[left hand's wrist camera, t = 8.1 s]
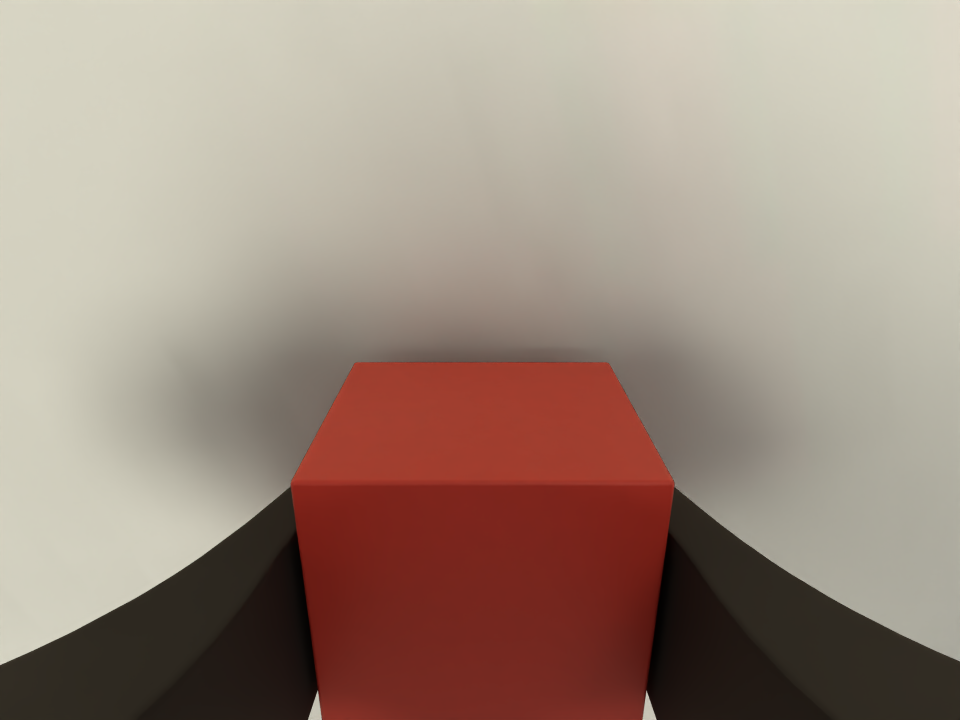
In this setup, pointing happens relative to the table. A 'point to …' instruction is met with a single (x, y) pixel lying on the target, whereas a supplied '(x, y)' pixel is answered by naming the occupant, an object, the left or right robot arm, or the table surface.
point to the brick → (482, 543)
